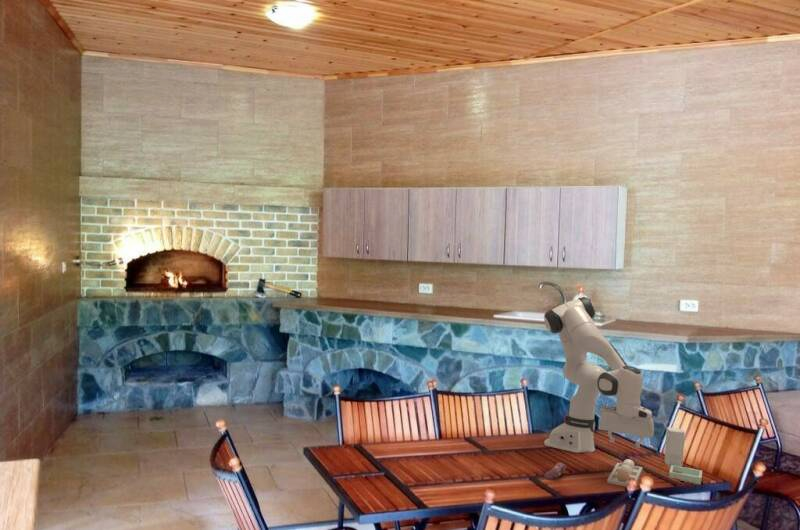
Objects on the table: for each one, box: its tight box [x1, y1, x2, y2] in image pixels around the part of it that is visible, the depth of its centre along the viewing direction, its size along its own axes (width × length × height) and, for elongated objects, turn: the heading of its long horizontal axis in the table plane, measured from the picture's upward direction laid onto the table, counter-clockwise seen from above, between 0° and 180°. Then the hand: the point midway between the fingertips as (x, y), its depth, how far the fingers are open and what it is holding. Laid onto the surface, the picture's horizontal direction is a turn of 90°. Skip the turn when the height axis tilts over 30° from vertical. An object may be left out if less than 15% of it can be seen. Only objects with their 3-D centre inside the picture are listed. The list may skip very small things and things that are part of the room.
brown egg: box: [617, 470, 629, 482], centre depth 289 cm, size 5×5×5 cm
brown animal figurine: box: [544, 462, 567, 480], centre depth 292 cm, size 10×5×7 cm, turn 148°
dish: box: [668, 465, 703, 486], centre depth 305 cm, size 12×12×3 cm
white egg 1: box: [622, 458, 636, 470], centre depth 306 cm, size 5×5×5 cm
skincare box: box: [663, 426, 686, 467], centre depth 324 cm, size 8×7×16 cm
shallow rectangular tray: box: [606, 462, 643, 488], centre depth 298 cm, size 10×28×2 cm, turn 156°
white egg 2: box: [620, 464, 632, 475], centre depth 298 cm, size 5×5×5 cm
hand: (624, 445), depth 289 cm, fingers open, 8 cm apart
